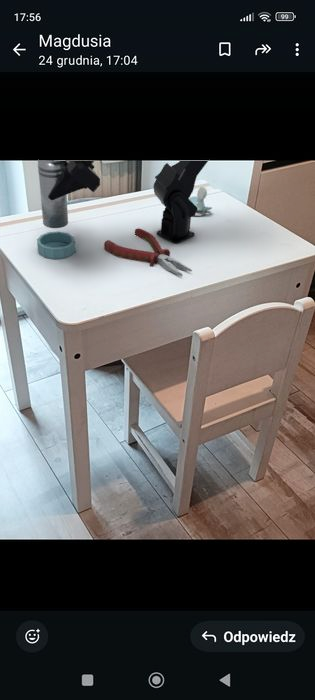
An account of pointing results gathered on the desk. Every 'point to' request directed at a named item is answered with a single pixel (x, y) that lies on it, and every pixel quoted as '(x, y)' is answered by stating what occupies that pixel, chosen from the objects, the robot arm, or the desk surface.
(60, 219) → the piston
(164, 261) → the pliers
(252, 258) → the desk surface
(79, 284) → the desk surface
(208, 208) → the pacifier
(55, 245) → the ring collar
